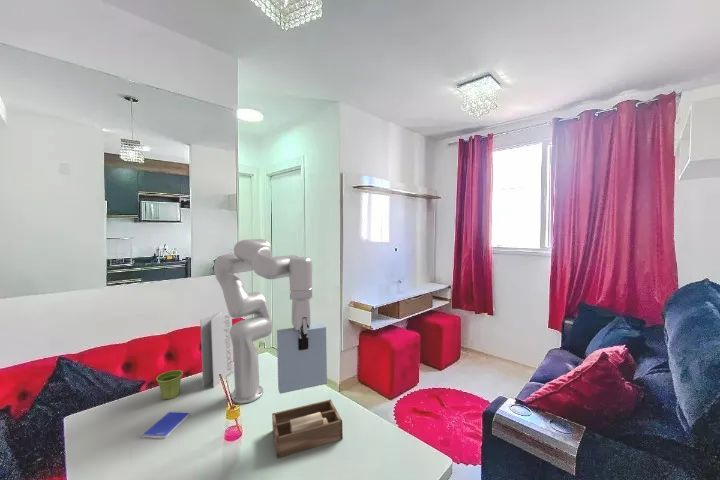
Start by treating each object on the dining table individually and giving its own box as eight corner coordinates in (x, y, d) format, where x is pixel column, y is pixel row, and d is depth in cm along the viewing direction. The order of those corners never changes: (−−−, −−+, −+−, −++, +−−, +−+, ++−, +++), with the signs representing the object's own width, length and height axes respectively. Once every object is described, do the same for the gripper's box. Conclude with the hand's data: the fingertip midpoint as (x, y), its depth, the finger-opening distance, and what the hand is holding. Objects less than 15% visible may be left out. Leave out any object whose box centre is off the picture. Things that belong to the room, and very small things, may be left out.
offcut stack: (285, 443, 96) (285, 420, 96) (327, 431, 102) (326, 409, 101) (288, 452, 92) (287, 429, 92) (331, 439, 98) (330, 417, 97)
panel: (278, 387, 101) (276, 329, 100) (323, 378, 107) (323, 323, 106) (279, 393, 98) (278, 333, 97) (326, 383, 104) (326, 327, 103)
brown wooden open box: (272, 430, 102) (272, 413, 102) (331, 415, 110) (330, 399, 110) (277, 458, 90) (276, 438, 89) (342, 438, 97) (342, 421, 97)
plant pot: (188, 393, 127) (187, 373, 126) (163, 404, 119) (162, 383, 118) (176, 387, 132) (176, 368, 131) (153, 397, 124) (152, 377, 124)
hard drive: (164, 435, 99) (189, 412, 112) (141, 434, 100) (168, 411, 112) (165, 439, 99) (189, 416, 112) (142, 438, 100) (168, 415, 112)
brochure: (213, 387, 131) (211, 320, 130) (202, 386, 132) (200, 319, 131) (233, 372, 145) (231, 311, 144) (223, 371, 146) (221, 310, 145)
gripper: (286, 290, 107) (287, 339, 108) (293, 300, 92) (295, 358, 93) (306, 288, 110) (307, 336, 111) (317, 298, 95) (318, 354, 95)
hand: (302, 346), depth 102 cm, fingers closed on panel, 4 cm apart
